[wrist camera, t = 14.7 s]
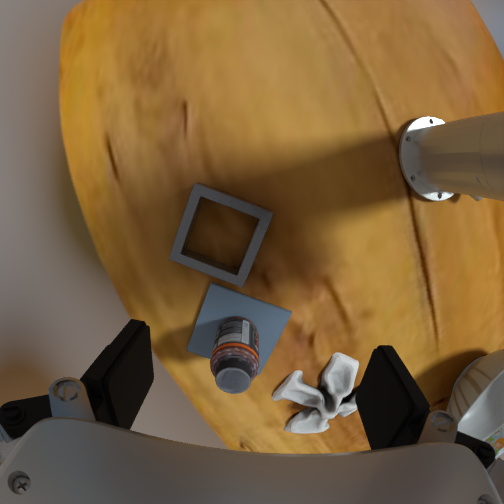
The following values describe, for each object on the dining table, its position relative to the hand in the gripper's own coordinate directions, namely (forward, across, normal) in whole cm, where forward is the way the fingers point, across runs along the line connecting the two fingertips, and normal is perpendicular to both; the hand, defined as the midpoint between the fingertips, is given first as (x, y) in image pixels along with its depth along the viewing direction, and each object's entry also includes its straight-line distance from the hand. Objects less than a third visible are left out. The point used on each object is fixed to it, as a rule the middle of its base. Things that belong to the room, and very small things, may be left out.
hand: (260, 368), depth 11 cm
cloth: (+28, -16, +27) cm, 42 cm away
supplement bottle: (+27, +2, +15) cm, 31 cm away
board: (+27, +2, +15) cm, 31 cm away
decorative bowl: (+29, -52, +27) cm, 65 cm away
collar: (+27, +5, +1) cm, 28 cm away
